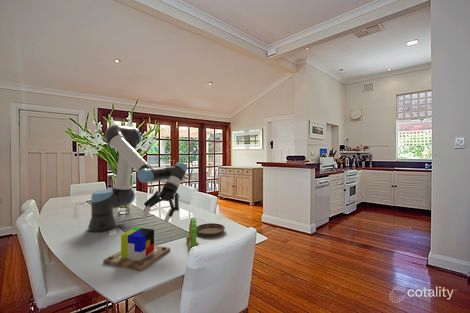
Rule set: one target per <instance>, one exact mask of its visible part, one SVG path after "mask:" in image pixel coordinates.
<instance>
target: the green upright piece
mask: <svg viewBox="0 0 470 313" xmlns="http://www.w3.org/2000/svg"><path fill="white" fill-rule="evenodd" d="M197 226H198V225H197V220H196V217H191V218H190V222H189V227H188V235H186V238H185V239H186V244H187V250H188V251H189V250H190V249H191V248H192V247H194V246H198V245H199V244H200V243H199V241H197V235H198V233H197ZM199 246H200V245H199ZM191 250H192V249H191ZM189 252H190V251H189Z"/></svg>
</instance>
